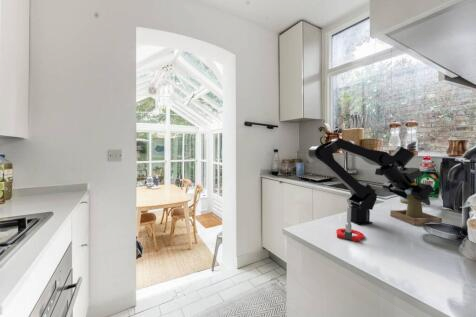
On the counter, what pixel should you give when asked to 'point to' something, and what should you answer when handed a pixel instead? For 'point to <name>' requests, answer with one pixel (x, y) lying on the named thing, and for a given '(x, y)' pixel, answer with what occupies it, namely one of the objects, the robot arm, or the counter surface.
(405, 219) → the tray
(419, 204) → the cork
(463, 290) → the counter surface
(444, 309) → the counter surface
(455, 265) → the counter surface
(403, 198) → the bottle
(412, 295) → the counter surface
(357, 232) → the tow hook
